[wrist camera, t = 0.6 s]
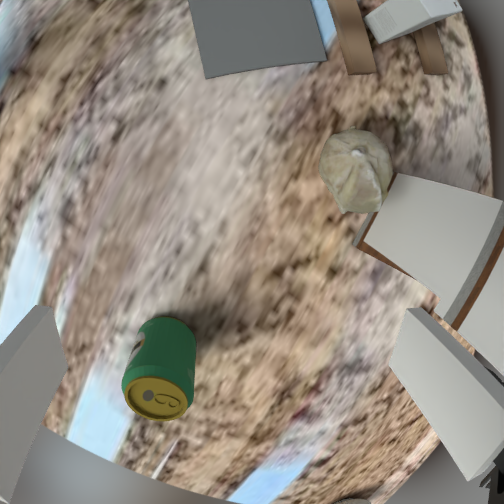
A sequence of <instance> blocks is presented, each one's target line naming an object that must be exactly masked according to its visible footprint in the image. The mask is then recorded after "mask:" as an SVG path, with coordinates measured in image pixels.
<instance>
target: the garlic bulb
mask: <svg viewBox="0 0 504 504" xmlns="http://www.w3.org/2000/svg"><path fill="white" fill-rule="evenodd" d="M319 173H320V175H321V178H322V179H323V181H324V182H325V183H326V185H327V187H328V190H329V191H330V192H331V193H332V194H333V196H334V199H335V201H336V203H337V204H338V207H339V210H340V211H341V213H343V214H344V213H345V212H347V211H350V212H356V213H361V214H364V213H369V212H378V211H380V208H381V206H382V203H383V202H384V200H385V199H386V198H387V196H388V192H387V188H388V186H389V183H390V181H391V179H392V175H393V167H392V159H391V156H390V154H389V151H388V148H387V146H386V144H385V143H384V142H383V141H382V140H380V139H379V138H378V137H377V136H375V135H374V134H373V133H371V132H369V131H364V130H357V129H356V126H351V127H350V130H345V131H342V132H341V133H338V134H333V135H332V136H331V137H330V138H329V139H328V140H327V141H326V143H325V145H324V147H323V150H322V153H321V158H320V162H319Z"/></svg>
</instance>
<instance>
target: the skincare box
mask: <svg viewBox="0 0 504 504" xmlns="http://www.w3.org/2000/svg"><path fill="white" fill-rule="evenodd" d="M461 11H462V8H461V7H460V5H459V3H458V2H457V0H387V1H386V2H384V3H383V4H381V5H380V6H379V7H377V8H376V9H375V10H373V11H372V12H370V13H369V14H368V15H366V16H365V17H364V18H363V20H364V21H365V23H366V24H367V26H368V27H369V29H370V31H371V32H372V34H373V35H374V37H375V39H376V40H377V42H378V43H379V44H381V43H384V42H387V41H390V40H392V39H395V38H398V37H401V36H403V35H406V34H409V33H411V32H414V31H416V30H418V29H420V28H423V27H425V26H427V25H429V24H432V23H434V22H436V21H439V20H441V19H444V18H446V17H448V16H451V15H454V14H456V13H459V12H461Z"/></svg>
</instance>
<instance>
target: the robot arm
mask: <svg viewBox="0 0 504 504" xmlns="http://www.w3.org/2000/svg"><path fill="white" fill-rule="evenodd" d="M388 365H389V366H390V368H391V369H392V370H393V372H394V373H395V375H396V376H397V377H398V379H399V380H400V382H401V383H402V384H403V386H404V387H405V389H406V390H407V392H408V393H409V394H410V396H411V397H412V399H413V400H414V402H415V403H416V404H417V406H418V407H419V409H420V410H421V412H422V413H423V415H424V416H425V417H426V419H427V420H428V422H429V423H430V425H431V426H432V428H433V429H434V431H435V432H436V434H437V435H438V437H439V438H440V440H441V441H442V443H443V444H444V446H445V447H446V449H447V450H448V452H449V453H450V455H451V456H452V458H453V459H454V461H455V462H456V464H457V465H458V467H459V469H460V470H461V472H462V473H463V474H464V476H465V478H466V480H467V481H469V480H471V479H473V478H475V477H476V476H478V475H480V474H481V473H483V472H484V471H485V470H486V469H487V468H488V467H489V465H490V464H491V463H492V462H494V463H495V464H496V466H495V467H494V468H493V469H492V471H491V472H490V473H489V474H488V475H487V476H486V477H485V478H484V479H483V480H482V482H481V484H480V486H479V487H483V486H484V485H485V483H487V481H488V480H489V479H491V481H490V482H489V483H488V484H487V486H486V488H490V492H489V500H488V504H504V383H502V381H501V379H500V378H498V376H497V375H496V374H495V373H494V372H493V371H491V370H489V369H487V368H486V367H484V366H483V365H482V364H481V363H480V362H479V361H478V360H476V359H475V357H474V356H473V355H472V354H470V353H469V352H468V351H467V350H466V349H465V348H464V347H463V346H462V345H461V344H460V343H459V342H458V341H457V340H456V339H455V338H454V337H453V336H452V335H451V334H450V333H448V332H447V331H446V330H445V329H444V328H443V327H442V326H441V325H440V324H439V323H438V322H437V321H436V320H434V319H433V318H432V317H431V316H430V315H429V314H428V313H427V312H426V311H425V310H423V309H422V308H421V307H419V308H408V309H406V312H405V315H404V319H403V322H402V325H401V328H400V332H399V335H398V338H397V341H396V344H395V347H394V350H393V353H392V356H391V359H390V361H389V364H388ZM67 369H68V364H67V361H66V358H65V354H64V351H63V348H62V344H61V341H60V337H59V334H58V330H57V326H56V322H55V318H54V314H53V310H52V307H48V306H38V305H35V306H34V307H33V308H32V309H31V311H30V312H29V313H28V314H27V315H26V316H25V317H24V318H23V319H22V321H21V322H20V323H19V324H18V325H17V326H16V328H15V329H14V330H13V331H12V332H11V333H10V335H9V336H8V337H7V338H6V339H5V340H4V342H3V343H2V344H1V345H0V500H1V501H4V502H6V503H8V504H9V503H10V500H11V497H12V494H13V491H14V489H15V486H16V483H17V480H18V478H19V475H20V472H21V470H22V467H23V465H24V462H25V460H26V457H27V455H28V452H29V450H30V447H31V445H32V443H33V440H34V438H35V436H36V433H37V431H38V429H39V427H40V424H41V422H42V420H43V418H44V416H45V414H46V411H47V409H48V407H49V405H50V403H51V401H52V399H53V397H54V395H55V393H56V391H57V389H58V387H59V385H60V383H61V381H62V379H63V377H64V375H65V373H66V371H67Z"/></svg>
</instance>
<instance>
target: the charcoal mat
mask: <svg viewBox="0 0 504 504" xmlns="http://www.w3.org/2000/svg"><path fill="white" fill-rule="evenodd" d="M188 2H189V6H190V11H191V15H192V20H193V24H194V29H195V33H196V38H197V42H198V47H199V51H200V56H201V60H202V64H203V69H204V73H205V78H206V79H210V78H214V77H219V76H224V75H229V74H234V73H239V72H245V71H250V70H256V69H263V68H269V67H276V66H284V65H292V64H301V63H312V62H324V61H327V59H326V55H325V51H324V47H323V44H322V40H321V36H320V33H319V29H318V26H317V22H316V19H315V16H314V12H313V9H312V6H311V3H310V0H188Z"/></svg>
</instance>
